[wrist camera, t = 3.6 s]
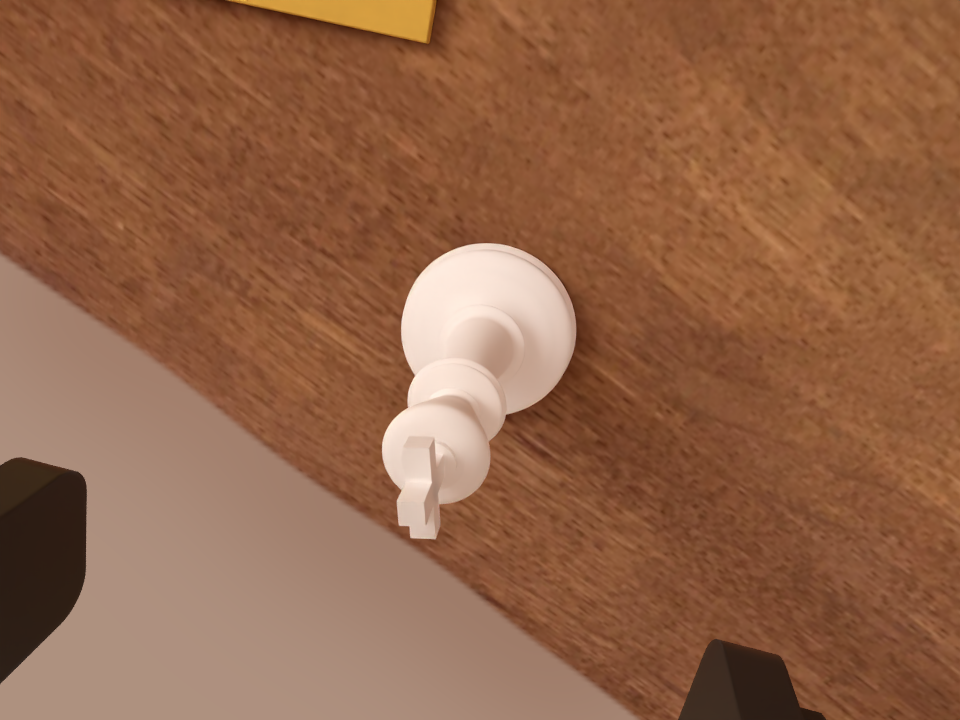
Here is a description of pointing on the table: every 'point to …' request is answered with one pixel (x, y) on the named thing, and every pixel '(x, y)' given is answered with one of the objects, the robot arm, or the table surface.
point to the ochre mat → (363, 14)
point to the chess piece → (471, 370)
